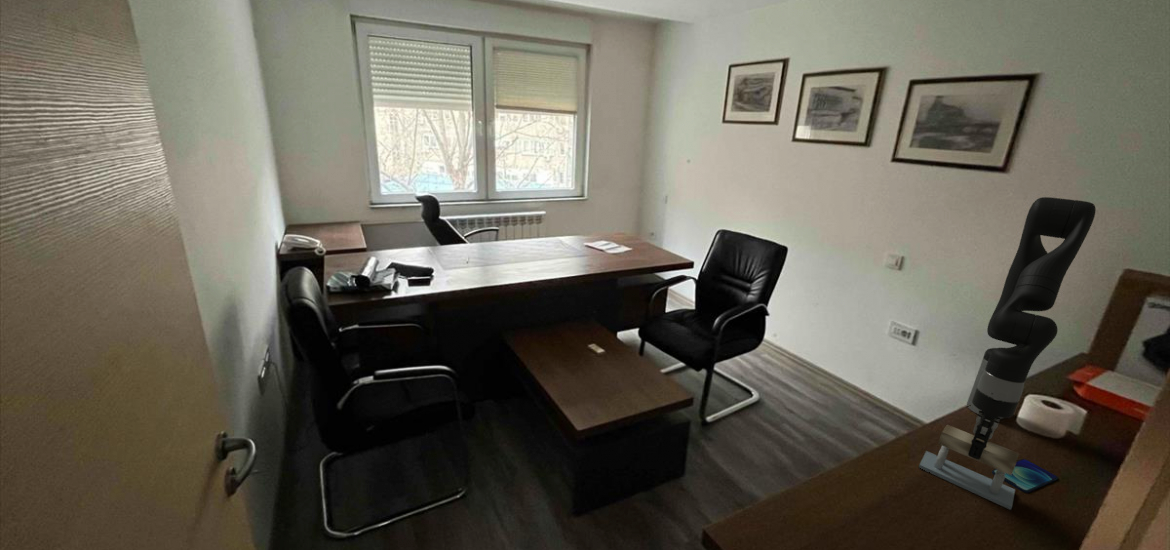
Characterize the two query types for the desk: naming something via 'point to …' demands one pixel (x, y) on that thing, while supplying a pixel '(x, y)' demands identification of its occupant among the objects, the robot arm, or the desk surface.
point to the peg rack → (969, 478)
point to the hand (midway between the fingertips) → (975, 451)
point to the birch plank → (990, 455)
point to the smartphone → (1028, 476)
